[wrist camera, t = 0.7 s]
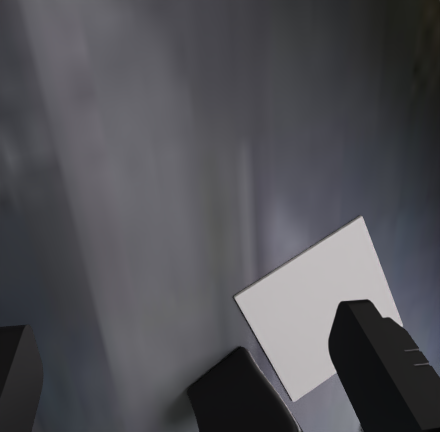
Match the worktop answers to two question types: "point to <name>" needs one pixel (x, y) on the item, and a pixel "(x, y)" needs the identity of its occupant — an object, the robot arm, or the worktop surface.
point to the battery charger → (239, 399)
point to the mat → (314, 304)
